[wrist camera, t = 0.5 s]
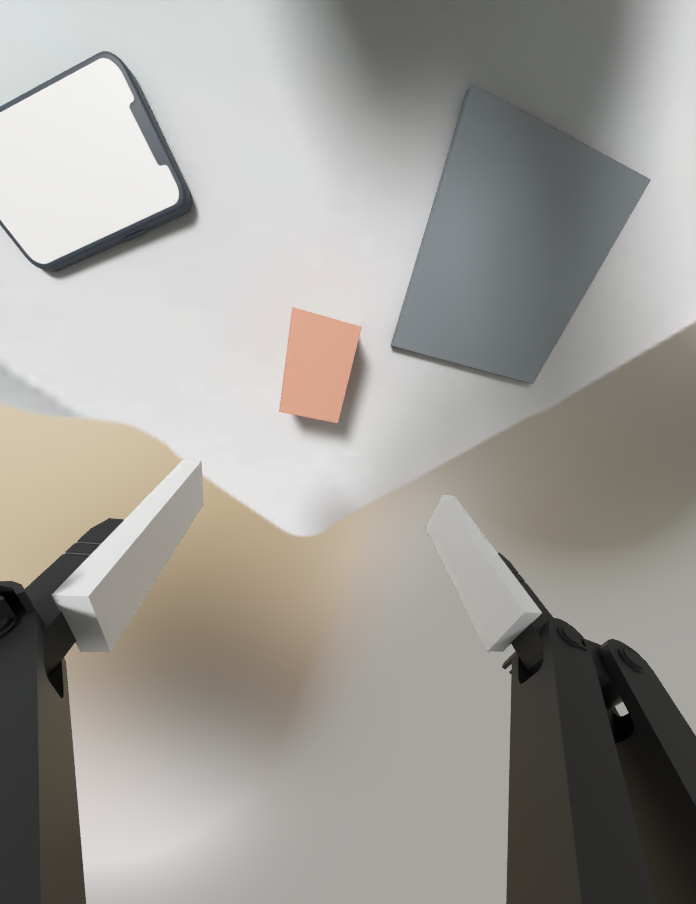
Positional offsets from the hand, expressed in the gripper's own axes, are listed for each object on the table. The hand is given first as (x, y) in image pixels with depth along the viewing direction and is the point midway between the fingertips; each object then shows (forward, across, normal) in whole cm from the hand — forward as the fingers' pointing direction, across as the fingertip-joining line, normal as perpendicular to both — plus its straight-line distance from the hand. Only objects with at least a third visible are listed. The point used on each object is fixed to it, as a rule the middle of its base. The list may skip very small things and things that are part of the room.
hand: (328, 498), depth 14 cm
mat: (+20, +17, +18) cm, 32 cm away
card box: (+21, -1, +4) cm, 21 cm away
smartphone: (+21, -23, +14) cm, 34 cm away
